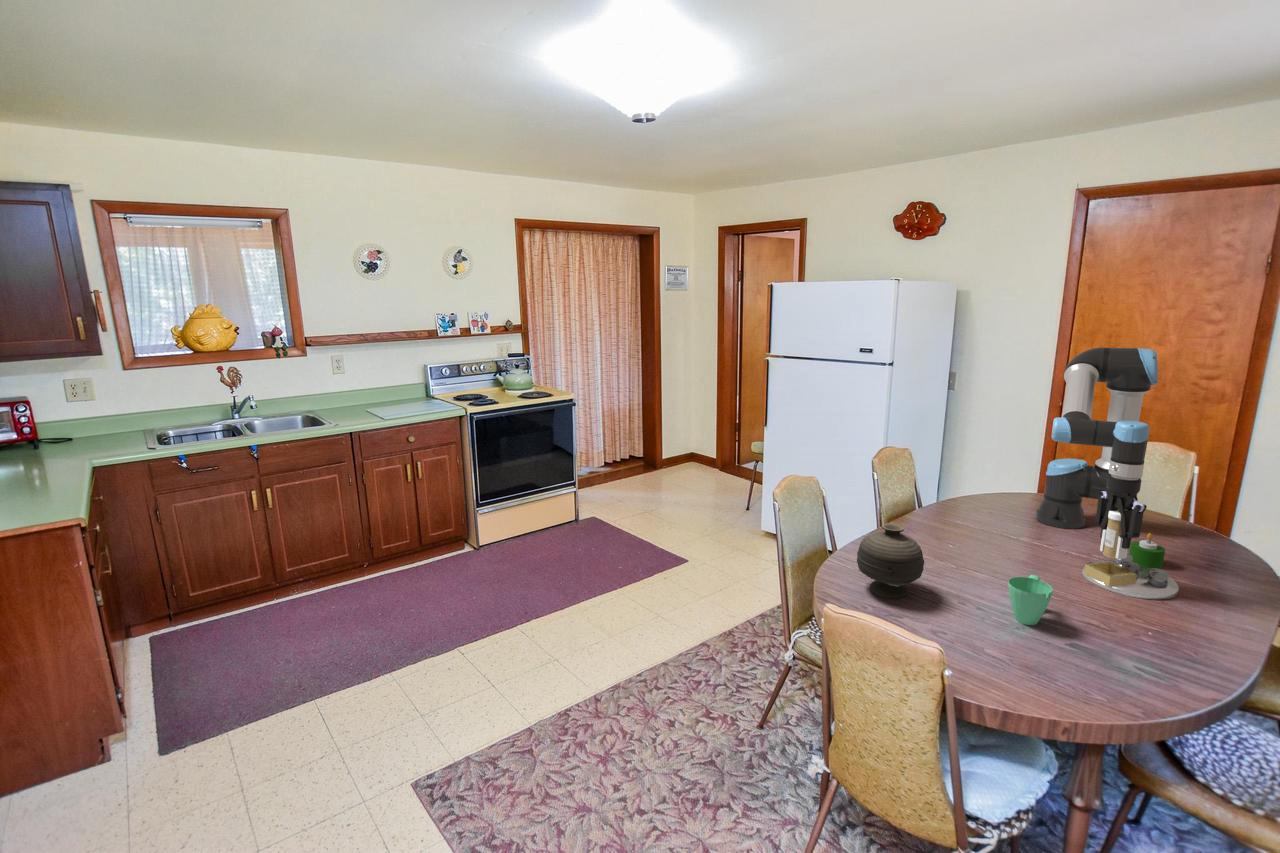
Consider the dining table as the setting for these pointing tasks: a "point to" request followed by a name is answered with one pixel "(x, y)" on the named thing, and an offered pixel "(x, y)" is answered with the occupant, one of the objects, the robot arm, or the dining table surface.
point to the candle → (1147, 553)
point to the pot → (890, 561)
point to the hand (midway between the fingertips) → (1112, 554)
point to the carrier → (1131, 579)
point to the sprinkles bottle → (1112, 534)
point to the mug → (1029, 598)
